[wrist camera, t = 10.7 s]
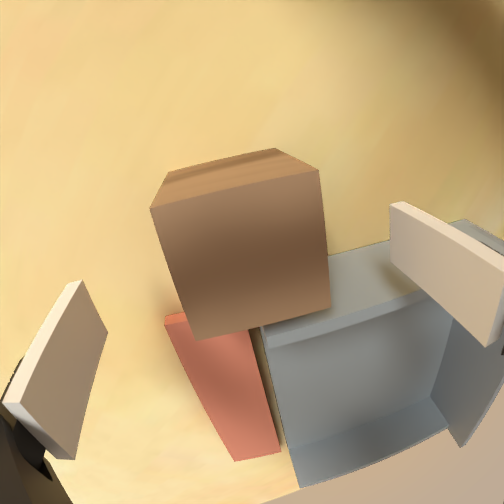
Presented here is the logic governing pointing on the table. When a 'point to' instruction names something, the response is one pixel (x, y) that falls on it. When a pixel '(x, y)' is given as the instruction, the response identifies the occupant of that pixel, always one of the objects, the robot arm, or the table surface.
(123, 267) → the table surface
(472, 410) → the truck bed
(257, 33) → the table surface
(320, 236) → the walnut block
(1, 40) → the table surface
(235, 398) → the panel
